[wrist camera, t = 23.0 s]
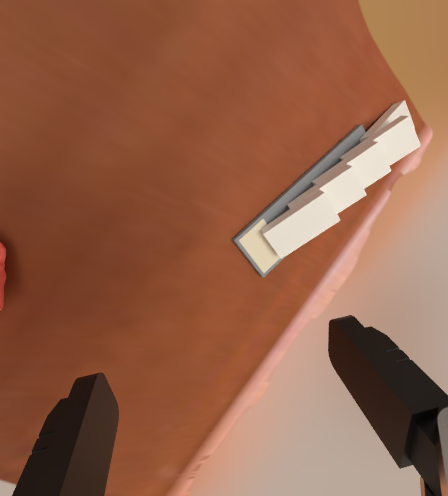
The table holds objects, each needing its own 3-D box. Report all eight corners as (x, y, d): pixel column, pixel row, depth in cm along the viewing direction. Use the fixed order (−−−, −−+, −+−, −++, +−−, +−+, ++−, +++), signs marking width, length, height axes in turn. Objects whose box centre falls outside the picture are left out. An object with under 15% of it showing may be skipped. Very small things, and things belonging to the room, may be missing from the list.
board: (260, 275, 44) (263, 277, 43) (231, 239, 41) (234, 240, 40) (375, 166, 48) (380, 165, 47) (357, 125, 45) (362, 124, 44)
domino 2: (281, 258, 41) (340, 220, 39) (263, 234, 39) (324, 192, 37) (277, 253, 43) (334, 215, 41) (260, 229, 41) (319, 189, 39)
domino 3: (331, 210, 43) (391, 170, 41) (316, 184, 41) (378, 141, 39) (326, 206, 44) (383, 168, 42) (311, 181, 43) (371, 140, 40)
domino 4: (382, 163, 44) (414, 127, 46) (370, 136, 42) (404, 100, 45) (371, 165, 46) (402, 130, 48) (359, 139, 44) (392, 104, 46)
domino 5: (358, 185, 44) (420, 145, 41) (344, 159, 42) (409, 115, 39) (352, 182, 45) (412, 144, 43) (339, 157, 43) (401, 115, 41)
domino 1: (306, 233, 42) (366, 194, 40) (290, 208, 40) (352, 166, 38) (302, 228, 44) (359, 191, 42) (286, 204, 42) (345, 164, 40)
